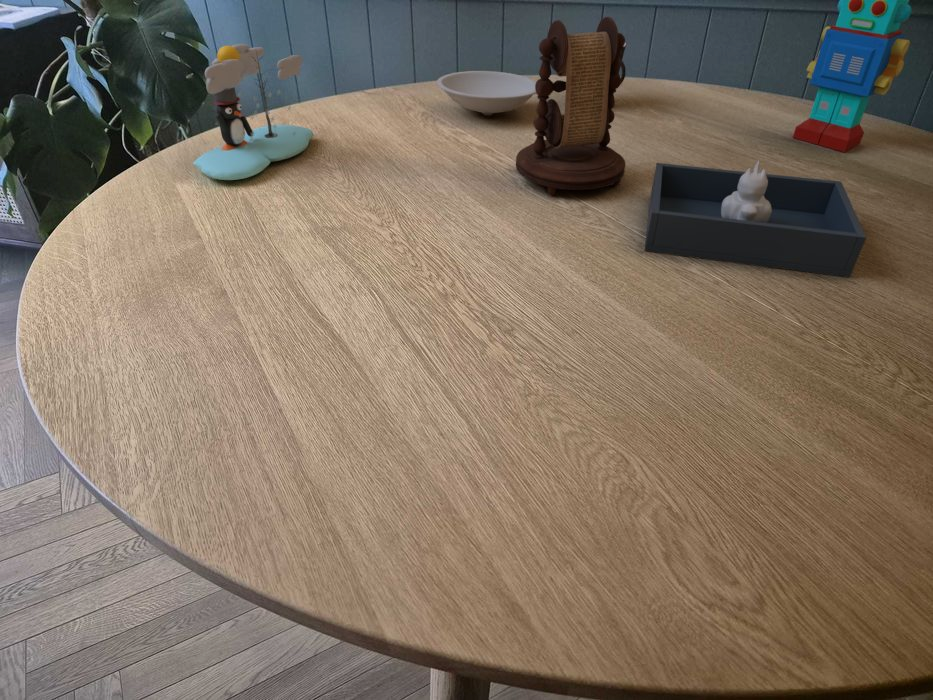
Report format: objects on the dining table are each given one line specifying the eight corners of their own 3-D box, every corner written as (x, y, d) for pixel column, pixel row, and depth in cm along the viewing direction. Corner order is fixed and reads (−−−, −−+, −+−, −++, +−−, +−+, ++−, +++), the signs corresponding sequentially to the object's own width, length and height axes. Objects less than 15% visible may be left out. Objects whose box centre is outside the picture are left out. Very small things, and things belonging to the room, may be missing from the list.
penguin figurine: (237, 191, 87) (210, 71, 78) (179, 175, 91) (147, 59, 82) (330, 143, 101) (317, 36, 92) (277, 131, 105) (259, 27, 96)
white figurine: (763, 218, 80) (783, 154, 75) (766, 243, 75) (788, 176, 70) (717, 212, 81) (733, 149, 76) (717, 237, 76) (734, 170, 71)
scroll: (540, 207, 84) (554, 37, 72) (499, 163, 95) (505, 10, 83) (642, 192, 87) (672, 28, 75) (592, 152, 99) (610, 3, 86)
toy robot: (782, 135, 105) (837, -48, 89) (800, 126, 108) (856, -51, 93) (855, 155, 98) (929, -38, 83) (872, 146, 101) (946, -42, 86)
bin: (827, 217, 82) (841, 181, 79) (849, 277, 71) (866, 237, 68) (649, 197, 86) (656, 162, 83) (644, 251, 75) (651, 212, 72)
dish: (422, 119, 110) (420, 88, 107) (458, 95, 120) (458, 66, 117) (521, 135, 104) (522, 102, 101) (550, 108, 114) (552, 78, 111)
